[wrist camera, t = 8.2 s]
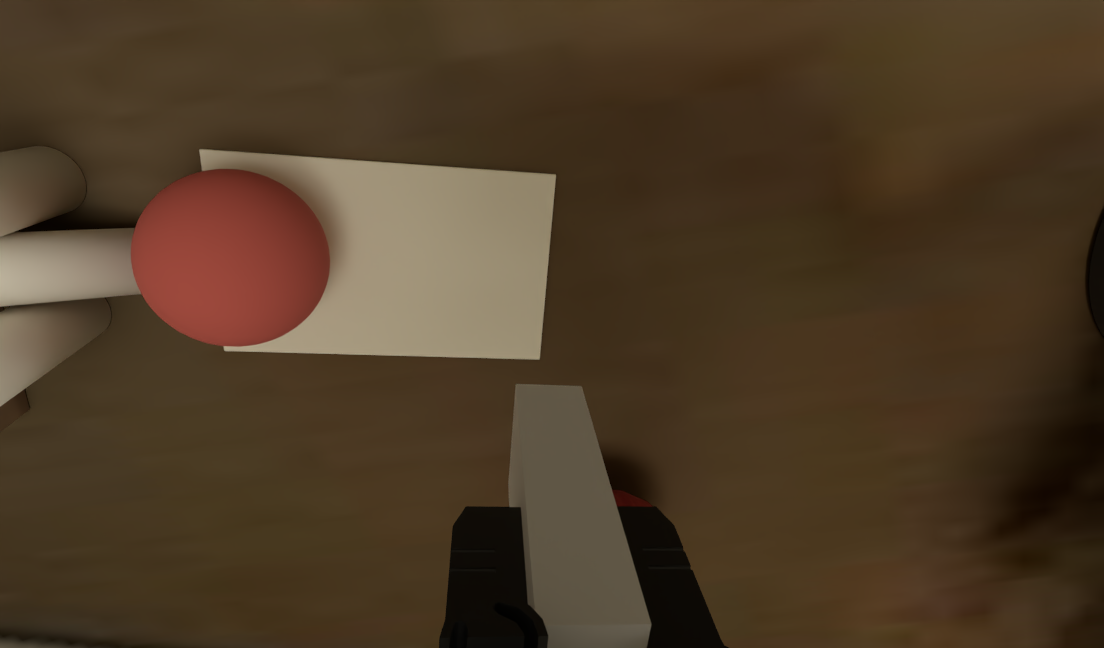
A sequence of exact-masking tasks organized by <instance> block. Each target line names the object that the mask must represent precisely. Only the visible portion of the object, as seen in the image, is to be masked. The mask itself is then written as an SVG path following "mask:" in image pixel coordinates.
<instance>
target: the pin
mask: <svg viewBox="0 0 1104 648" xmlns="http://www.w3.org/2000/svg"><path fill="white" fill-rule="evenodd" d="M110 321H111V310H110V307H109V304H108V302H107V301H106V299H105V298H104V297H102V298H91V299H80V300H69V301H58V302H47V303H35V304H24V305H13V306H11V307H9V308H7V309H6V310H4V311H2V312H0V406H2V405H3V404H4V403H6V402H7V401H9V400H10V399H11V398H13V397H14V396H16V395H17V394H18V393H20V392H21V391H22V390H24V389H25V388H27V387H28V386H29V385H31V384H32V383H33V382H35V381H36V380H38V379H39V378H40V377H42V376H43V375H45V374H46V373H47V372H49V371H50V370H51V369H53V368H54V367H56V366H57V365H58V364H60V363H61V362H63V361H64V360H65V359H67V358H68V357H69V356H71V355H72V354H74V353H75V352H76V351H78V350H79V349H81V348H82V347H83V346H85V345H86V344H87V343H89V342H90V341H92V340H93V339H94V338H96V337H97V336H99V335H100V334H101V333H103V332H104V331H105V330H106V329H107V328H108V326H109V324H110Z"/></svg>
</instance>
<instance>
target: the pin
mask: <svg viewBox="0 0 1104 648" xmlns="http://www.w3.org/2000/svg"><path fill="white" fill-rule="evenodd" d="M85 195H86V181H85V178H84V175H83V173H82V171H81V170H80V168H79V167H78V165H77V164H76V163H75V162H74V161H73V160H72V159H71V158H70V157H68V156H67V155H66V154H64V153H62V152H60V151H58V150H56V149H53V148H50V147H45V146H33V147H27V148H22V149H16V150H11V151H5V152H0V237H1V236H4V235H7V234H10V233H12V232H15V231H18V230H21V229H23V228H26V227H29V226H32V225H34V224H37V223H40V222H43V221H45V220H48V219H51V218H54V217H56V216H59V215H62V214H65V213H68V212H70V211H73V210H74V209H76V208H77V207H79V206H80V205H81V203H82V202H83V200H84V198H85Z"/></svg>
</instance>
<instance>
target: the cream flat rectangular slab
mask: <svg viewBox="0 0 1104 648" xmlns="http://www.w3.org/2000/svg"><path fill="white" fill-rule="evenodd" d="M199 151H200V159H201V167H202V171H207V170H214V169H239V170H245V171H250V172H254V173H258V174H261V175H264V176H267V177H269V178H271V179H273V180H275V181H277V182H279V183H281V184H283V185H284V186H286V187H287V188H289V189H290V190H292V191H293V192H294V193H296V194H297V195H298V196H299V197H300V198H301V199H302V200H303V201H304V202H305V203H306V204H307V205H308V206H309V207H310V208H311V210H312V211H313V212H314V214H315V215H316V217H317V219H318V220H319V222H320V224H321V226H322V228H323V230H324V233H325V235H326V238H327V242H328V247H329V253H330V271H329V278H328V282H327V285H326V288H325V291H324V293H323V295H322V298H321V300H320V301H319V303H318V305H317V306H316V308H315V309H314V310H313V312H312V313H311V314H310V315H309V316H308V317H307V318H306V319H305V320H304V321H303V322H302V323H301V324H300V325H298V326H297V327H296V328H294V329H293V330H291V331H290V332H288V333H286V334H285V335H283V336H281V337H279V338H276V339H274V340H271V341H268V342H265V343H261V344H257V345H251V346H242V347H233V346H224V351H248V352H284V353H320V354H357V355H393V356H429V357H465V358H501V359H537V360H540V349H541V338H542V327H543V315H544V304H545V293H546V282H547V270H548V259H549V248H550V237H551V226H552V214H553V203H554V192H555V181H556V174H546V173H532V172H518V171H504V170H490V169H476V168H462V167H448V166H434V165H420V164H406V163H392V162H378V161H364V160H351V159H337V158H323V157H309V156H295V155H281V154H267V153H253V152H239V151H225V150H211V149H199Z"/></svg>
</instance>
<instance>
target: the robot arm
mask: <svg viewBox="0 0 1104 648" xmlns="http://www.w3.org/2000/svg"><path fill="white" fill-rule="evenodd" d="M1089 294H1090V302H1091V307H1092V312H1093V315H1094V318H1095V321H1096V323H1097V326H1098V328H1099V330H1100V331H1101V333H1102V335H1103V336H1104V218H1103V221H1102V223H1101V226H1100V229H1099V232H1098V235H1097V238H1096V241H1095V245H1094V249H1093V253H1092V259H1091V265H1090V273H1089ZM508 487H509V507H465V509H464V510H463V512H462V513H461V515H460V516H459V518H458V519H457V521H456V522H455V524H454V525H453V530H452V543H451V555H450V568H449V580H448V592H447V605H446V617H445V622H444V625H443V629H442V632H441V635H440V639H439V648H728V647H726V646H724V644H723V642H722V641H721V639H720V636H719V634H718V631H717V629H716V627H715V624H714V622H713V619H712V617H711V614H710V612H709V609H708V607H707V605H706V602H705V600H704V597H703V595H702V592H701V590H700V587H699V585H698V583H697V580H696V578H695V575H694V573H693V570H691V569H690V563H689V560H688V558H687V556H686V553H685V552H683V546H682V543H681V541H680V538H679V536H678V534H677V531H676V529H675V526H674V525H673V524H672V523H671V522H670V521H669V520H668V519H667V518H666V517H665V516H664V515H663V514H662V512H661V511H660V510H659V509H658V508H657V507H643V506H617V505H616V502H615V499H614V495H613V492H612V488H611V485H610V482H609V478H608V475H607V471H606V468H605V465H604V461H603V458H602V454H601V451H600V448H599V444H598V441H597V437H596V434H595V431H594V427H593V424H592V420H591V417H590V414H589V410H588V407H587V403H586V400H585V397H584V393H583V390H582V386H560V385H531V384H516V388H515V401H514V415H513V428H512V442H511V456H510V469H509V483H508Z"/></svg>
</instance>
